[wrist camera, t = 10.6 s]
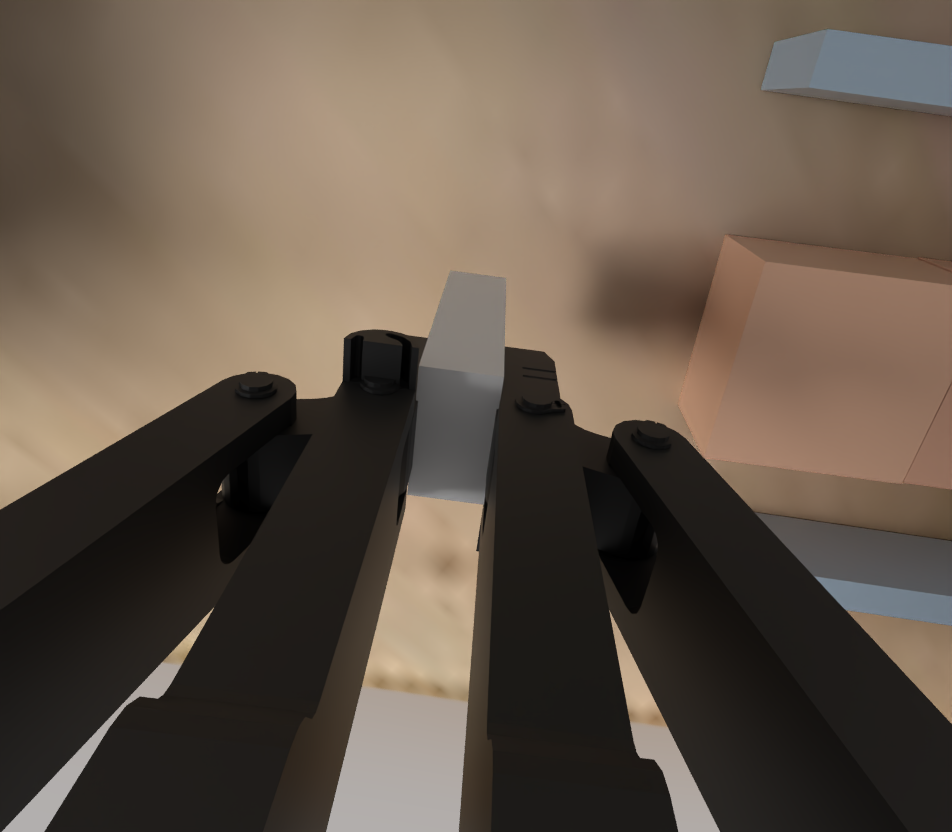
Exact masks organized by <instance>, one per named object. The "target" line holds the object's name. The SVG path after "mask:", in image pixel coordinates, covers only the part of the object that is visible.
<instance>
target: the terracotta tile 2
mask: <svg viewBox="0 0 952 832" xmlns="http://www.w3.org/2000/svg"><path fill="white" fill-rule="evenodd" d="M918 259H919V260H922V261H924V262H926V263H929V264H931V265H934V266H936V267H939V268H941V269H944V270H946V271H949V272H951V273H952V261H945V260H937V259H930V258H922V257H918ZM903 483H908V484H915V485H922V486H930V487H937V488H944V489H951V490H952V382H951V384H950V386H949V388H948V390H947V392H946V394H945V396H944V398H943V400H942V402H941V404H940V406H939V409H938V411H937V413H936V415H935V417H934V419H933V421H932V423H931V425H930V427H929V429H928V431H927V433H926V435H925V437H924V439H923V441H922V443H921V445H920V448H919V450H918V452H917V454H916V456H915V458H914V460H913V462H912V464H911V466H910V468H909V470H908V472H907V474H906V476H905V478H904V480H903Z"/></svg>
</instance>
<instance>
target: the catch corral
mask: <svg viewBox="0 0 952 832" xmlns="http://www.w3.org/2000/svg"><path fill="white" fill-rule="evenodd" d="M761 90H763V91H771V92H778V93H785V94H792V95H800V96H807V97H814V98H821V99H828V100H836V101H843V102H850V103H857V104H865V105H872V106H879V107H886V108H893V109H901V110H908V111H915V112H922V113H930V114H937V115H944V116H951V117H952V46H948V45H941V44H934V43H927V42H919V41H912V40H905V39H897V38H890V37H883V36H876V35H868V34H861V33H854V32H846V31H839V30H832V29H825V30H821V31H817V32H813V33H809V34H805V35H801V36H797V37H793V38H789V39H785V40H780V41H776V42H774V45H773V49H772V52H771V56H770V59H769V63H768V66H767V70H766V73H765V77H764V80H763V83H762V87H761ZM755 514H756V515H757V516H758V517H759V518H760V519H761V520H762V521H763V522H764V523H765V524H766V525H767V526H768V527H769V529H770V530H771V531H772V532H773V533H774V534H775V535H776V536H777V537H778V538H779V539H780V540H781V541H782V543H783V544H784V545H785V546H786V547H787V548H788V549H789V550H790V551H791V552H792V553H793V554H794V555H795V556H796V558H797V559H798V560H799V561H800V562H801V563H802V564H803V565H804V566H805V567H806V568H807V569H808V570H809V572H810V573H811V574H812V575H813V576H814V577H815V578H816V579H817V580H818V581H819V582H820V583H821V584H822V585H823V587H824V588H825V589H826V590H827V591H828V592H829V593H830V594H831V595H832V596H833V597H834V598H835V599H836V601H837V602H838V603H839V604H840V605H841V606H842V607H843V608H844V609H845V610H849V611H856V612H863V613H869V614H876V615H883V616H890V617H897V618H903V619H910V620H917V621H924V622H930V623H937V624H944V625H951V626H952V541H948V540H941V539H934V538H927V537H920V536H913V535H907V534H900V533H893V532H886V531H879V530H872V529H866V528H859V527H852V526H845V525H838V524H831V523H824V522H818V521H811V520H804V519H797V518H790V517H783V516H777V515H770V514H763V513H756V512H755Z"/></svg>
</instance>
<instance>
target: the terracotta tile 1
mask: <svg viewBox="0 0 952 832" xmlns="http://www.w3.org/2000/svg"><path fill="white" fill-rule="evenodd" d="M951 382H952V273H951V272H949V271H946V270H944V269H941V268H939V267H936V266H934V265H931V264H929V263H926V262H924V261H922V260H919V259H917V258H910V257H902V256H894V255H886V254H878V253H870V252H862V251H854V250H846V249H838V248H830V247H822V246H814V245H806V244H799V243H791V242H783V241H775V240H767V239H759V238H751V237H743V236H735V235H727V234H725V237H724V241H723V245H722V248H721V252H720V255H719V259H718V262H717V266H716V270H715V273H714V277H713V280H712V284H711V287H710V291H709V295H708V298H707V302H706V305H705V309H704V312H703V316H702V320H701V323H700V327H699V330H698V334H697V338H696V341H695V345H694V348H693V352H692V355H691V359H690V363H689V366H688V370H687V373H686V377H685V380H684V384H683V388H682V391H681V395H680V398H679V402H678V406H679V408H680V411H681V413H682V415H683V417H684V419H685V421H686V423H687V425H688V427H689V429H690V431H691V433H692V435H693V437H694V439H695V441H696V443H697V445H698V447H699V450H700V452H701V454H702V456H703V458H707V459H715V460H722V461H730V462H737V463H745V464H753V465H760V466H768V467H775V468H783V469H790V470H798V471H805V472H813V473H820V474H828V475H835V476H843V477H850V478H858V479H866V480H873V481H881V482H888V483H896V484H902V482H903V480H904V478H905V476H906V474H907V472H908V470H909V468H910V466H911V464H912V462H913V460H914V458H915V456H916V454H917V452H918V450H919V448H920V445H921V443H922V441H923V439H924V437H925V435H926V433H927V431H928V429H929V427H930V425H931V423H932V421H933V419H934V417H935V415H936V413H937V411H938V409H939V406H940V404H941V402H942V400H943V398H944V396H945V394H946V392H947V390H948V388H949V386H950V384H951Z"/></svg>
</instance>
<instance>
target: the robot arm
mask: <svg viewBox="0 0 952 832" xmlns="http://www.w3.org/2000/svg"><path fill="white" fill-rule="evenodd" d="M505 308H506V278H503V277H495V276H488V275H480V274H473V273H465V272H458V271H451V270H450V273H449V276H448V279H447V282H446V285H445V288H444V291H443V294H442V297H441V300H440V303H439V306H438V309H437V312H436V315H435V318H434V321H433V324H432V328H431V331H430V334H429V337H428V338H424V337H416V336H409V335H405V334H402V333H398V332H393V331H388V330H362V331H358V332H354V333H351V334H349V335H348V336H346V337H345V338H344V356H343V382H342V383H341V385H340V387H339V389H338V390H337V392H336V394H335V396H333V397H328V398H319V399H296V385H295V384H294V383H293V382H291V381H290V380H289V379H287V378H284V377H282V376H279V375H274V374H268V373H267V372H258V373H256V372H247V373H245V374H241V375H235V376H232V377H229V378H227V379H224V380H222V381H220V382H219V383H217V384H215V385H214V386H212V387H210V388H208V389H207V390H205V391H203V392H202V393H200V394H198V395H196V396H195V397H193V398H191V399H190V400H188V401H186V402H184V403H183V404H181V405H179V406H178V407H176V408H174V409H172V410H171V411H169V412H167V413H166V414H164V415H162V416H160V417H159V418H157V419H155V420H153V421H152V422H150V423H148V424H147V425H145V426H143V427H141V428H140V429H138V430H136V431H135V432H133V433H131V434H129V435H128V436H126V437H124V438H123V439H121V440H119V441H117V442H116V443H114V444H112V445H111V446H109V447H107V448H105V449H104V450H102V451H100V452H99V453H97V454H95V455H93V456H92V457H90V458H88V459H87V460H85V461H83V462H81V463H80V464H78V465H76V466H75V467H73V468H71V469H69V470H68V471H66V472H64V473H63V474H61V475H59V476H57V477H56V478H54V479H52V480H51V481H49V482H47V483H45V484H44V485H42V486H40V487H39V488H37V489H35V490H33V491H32V492H30V493H28V494H26V495H25V496H23V497H21V498H20V499H18V500H16V501H14V502H13V503H11V504H9V505H8V506H6V507H4V508H2V509H1V510H0V832H2V831H3V830H4V829H5V827H6V826H7V825H8V824H9V823H10V822H11V821H12V820H13V819H14V818H15V817H16V816H17V815H18V814H19V813H20V811H22V810H23V808H24V807H25V806H26V805H27V804H28V803H29V802H30V801H31V800H32V799H33V798H34V797H35V796H36V795H37V794H38V792H40V791H41V789H42V788H43V787H44V786H45V785H46V784H47V783H48V782H49V781H50V780H51V779H52V778H53V777H54V776H55V775H56V774H57V772H58V771H59V770H60V769H61V768H62V767H63V766H64V765H65V764H66V763H67V762H68V761H69V760H70V759H71V758H72V757H73V756H74V755H75V754H76V752H77V751H78V750H79V749H80V748H81V747H82V746H83V745H84V744H85V743H86V742H87V741H88V740H89V738H91V737H92V736H93V734H94V733H95V732H96V731H97V730H98V729H99V728H100V727H101V726H102V725H103V724H104V723H105V721H107V720H108V718H110V716H111V715H112V714H113V713H114V712H115V711H116V710H117V709H118V708H119V707H120V706H121V705H122V703H124V702H125V700H127V699H128V697H129V696H130V695H131V694H132V693H133V692H134V691H135V690H136V689H137V688H138V687H139V686H140V685H141V684H142V683H143V682H144V681H145V679H146V678H147V677H148V676H149V675H150V674H151V673H152V672H153V671H154V670H155V669H156V668H157V667H158V666H159V665H160V664H161V663H162V662H163V660H164V659H165V658H166V657H167V656H168V655H169V654H170V653H171V652H172V651H173V650H174V649H175V648H176V647H177V646H178V645H179V644H180V642H181V641H182V640H183V639H184V638H185V637H186V636H187V635H188V634H189V633H190V632H191V631H192V630H193V629H194V628H195V627H196V626H197V625H198V623H199V622H200V621H201V620H202V619H203V618H204V617H205V616H206V615H207V614H208V613H209V612H210V611H211V610H212V609H213V608H214V609H213V611H212V613H211V614H210V616H209V618H208V620H207V621H206V623H205V625H204V627H203V628H202V630H201V632H200V634H199V636H198V637H197V639H196V641H195V643H194V644H193V646H192V648H191V650H190V651H189V653H188V655H187V657H186V658H185V660H184V662H183V664H182V666H181V668H180V669H179V671H178V673H177V674H176V676H175V678H174V680H173V681H172V683H171V685H170V686H169V688H168V689H167V691H166V692H165V693H164V695H163V696H161V697H160V698H158V699H155V698H147V697H139V698H137V699H136V700H134V701H133V702H131V703H130V704H128V705H127V706H126V707H125V708H124V709H123V711H122V712H121V713H120V714H119V716H118V717H117V719H116V720H115V721H114V722H113V724H112V725H111V726H110V728H109V729H108V731H107V733H106V734H105V736H104V737H103V739H102V740H101V742H100V744H99V745H98V747H97V749H96V750H95V752H94V753H93V755H92V757H91V758H90V760H89V761H88V763H87V765H86V766H85V768H84V769H83V771H82V773H81V774H80V776H79V777H78V779H77V781H76V782H75V784H74V785H73V787H72V789H71V790H70V792H69V793H68V795H67V797H66V798H65V800H64V801H63V803H62V805H61V806H60V808H59V809H58V811H57V813H56V814H55V816H54V817H53V819H52V821H51V822H50V824H49V825H48V827H47V829H46V830H45V832H326V829H327V825H328V821H329V817H330V813H331V808H332V805H333V801H334V797H335V792H336V789H337V785H338V781H339V776H340V772H341V768H342V764H343V760H344V756H345V752H346V748H347V744H348V740H349V735H350V731H351V728H352V723H353V719H354V715H355V711H356V707H357V703H358V699H359V695H360V691H361V687H362V683H363V679H364V675H365V671H366V666H367V662H368V658H369V654H370V650H371V646H372V642H373V638H374V634H375V630H376V626H377V622H378V618H379V614H380V609H381V605H382V601H383V597H384V593H385V589H386V585H387V581H388V577H389V573H390V569H391V565H392V561H393V557H394V552H395V548H396V544H397V540H398V536H399V532H400V528H401V524H402V520H403V516H404V512H405V505H406V493H407V485H408V494H407V495H414V496H421V497H429V498H437V499H444V500H452V501H460V502H468V503H475V504H483V512H482V518H481V525H480V531H479V537H478V544H477V550H476V551H479V559H478V573H477V587H476V601H475V615H474V629H473V642H472V656H471V670H470V684H469V698H468V713H467V726H466V741H465V754H464V768H463V783H462V797H461V809H460V824H459V832H678V829H677V824H676V820H675V815H674V811H673V806H672V802H671V797H670V794H669V791H668V787H667V784H666V781H665V778H664V775H663V772H662V770H661V769H660V767H659V766H658V765H657V763H656V762H655V760H652V759H643V758H640V757H639V756H638V754H637V752H636V749H635V745H634V742H633V736H632V731H631V725H630V720H629V715H628V709H627V704H626V698H625V693H624V688H623V682H622V677H621V672H620V666H619V661H618V655H617V650H616V645H615V639H614V634H613V628H612V623H611V618H610V612H611V614H612V616H613V618H614V620H615V622H616V624H617V626H618V628H619V630H620V632H621V634H622V636H623V638H624V640H625V642H626V644H627V646H628V648H629V650H630V652H631V654H632V656H633V658H634V660H635V662H636V664H637V666H638V668H639V670H640V672H641V674H642V676H643V678H644V680H645V682H646V684H647V686H648V688H649V690H650V692H651V694H652V696H653V698H654V700H655V702H656V704H657V706H658V708H659V710H660V712H661V714H662V716H663V718H664V720H665V722H666V724H667V726H668V728H669V730H670V732H671V734H672V736H673V738H674V740H675V742H676V744H677V746H678V748H679V750H680V752H681V754H682V756H683V758H684V760H685V762H686V764H687V766H688V768H689V770H690V772H691V774H692V776H693V778H694V780H695V782H696V784H697V786H698V788H699V790H700V792H701V794H702V796H703V798H704V800H705V802H706V804H707V806H708V808H709V810H710V812H711V814H712V816H713V818H714V820H715V822H716V824H717V826H718V828H719V830H720V832H952V724H951V723H950V722H949V721H948V720H947V719H946V718H945V716H944V715H943V714H942V713H941V712H940V711H939V710H938V709H937V708H936V707H935V706H934V705H933V704H932V702H931V701H930V700H929V699H928V698H927V697H926V696H925V695H924V694H923V693H922V692H921V691H920V690H919V689H918V687H917V686H916V685H915V684H914V683H913V682H912V681H911V680H910V679H909V678H908V677H907V676H906V675H905V674H904V672H903V671H902V670H901V669H900V668H899V667H898V666H897V665H896V664H895V663H894V662H893V661H892V660H891V658H890V657H889V656H888V655H887V654H886V653H885V652H884V651H883V650H882V649H881V648H880V647H879V646H878V645H877V643H876V642H875V641H874V640H873V639H872V638H871V637H870V636H869V635H868V634H867V633H866V632H865V631H864V629H863V628H862V627H861V626H860V625H859V624H858V623H857V622H856V621H855V620H854V619H853V618H852V617H851V616H850V614H849V613H848V612H847V611H846V610H845V609H844V608H843V607H842V606H841V605H840V604H839V603H838V602H837V601H836V599H835V598H834V597H833V596H832V595H831V594H830V593H829V592H828V591H827V590H826V589H825V588H824V587H823V585H822V584H821V583H820V582H819V581H818V580H817V579H816V578H815V577H814V576H813V575H812V574H811V573H810V572H809V570H808V569H807V568H806V567H805V566H804V565H803V564H802V563H801V562H800V561H799V560H798V559H797V558H796V556H795V555H794V554H793V553H792V552H791V551H790V550H789V549H788V548H787V547H786V546H785V545H784V544H783V543H782V541H781V540H780V539H779V538H778V537H777V536H776V535H775V534H774V533H773V532H772V531H771V530H770V529H769V527H768V526H767V525H766V524H765V523H764V522H763V521H762V520H761V519H760V518H759V517H758V516H757V515H756V514H755V512H754V511H753V510H752V509H751V508H750V507H749V506H748V505H747V504H746V503H745V502H744V501H743V500H742V499H741V497H740V496H739V495H738V494H737V493H736V492H735V491H734V490H733V489H732V488H731V487H730V486H729V485H728V483H727V482H726V481H725V480H724V479H723V478H722V477H721V476H720V475H719V474H718V473H717V472H716V471H715V470H714V468H713V467H712V466H711V465H710V464H709V463H708V462H707V461H706V460H705V459H704V458H703V457H702V456H701V454H700V453H699V452H698V451H697V450H696V449H695V448H694V447H693V446H692V445H691V444H690V443H689V442H688V441H687V439H685V438H684V437H683V436H682V435H680V434H679V433H678V432H676V431H674V430H672V429H670V428H668V427H666V426H665V425H664V424H661V423H658V422H657V424H656V423H655V422H654V421H649V420H646V421H639V420H632V421H623V422H621V423H619V424H617V425H616V426H615V428H614V430H613V432H612V436H611V438H608V437H605V436H602V435H598V434H595V433H592V432H590V431H587V430H584V429H582V428H580V427H578V426H576V425H575V424H574V419H573V413H572V410H571V408H570V407H569V405H568V404H567V403H566V402H564V401H563V400H561V399H560V393H559V387H558V381H557V375H556V368H555V362H554V361H553V360H552V359H551V358H550V357H549V356H548V355H547V354H546V353H545V352H542V351H534V350H527V349H519V348H511V347H505ZM408 482H409V483H408ZM221 484H222V490H221V491H220V492H219V493H218V494H217V492H218V490H219V488H220V485H221ZM215 605H216V606H215ZM609 610H610V612H609Z"/></svg>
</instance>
